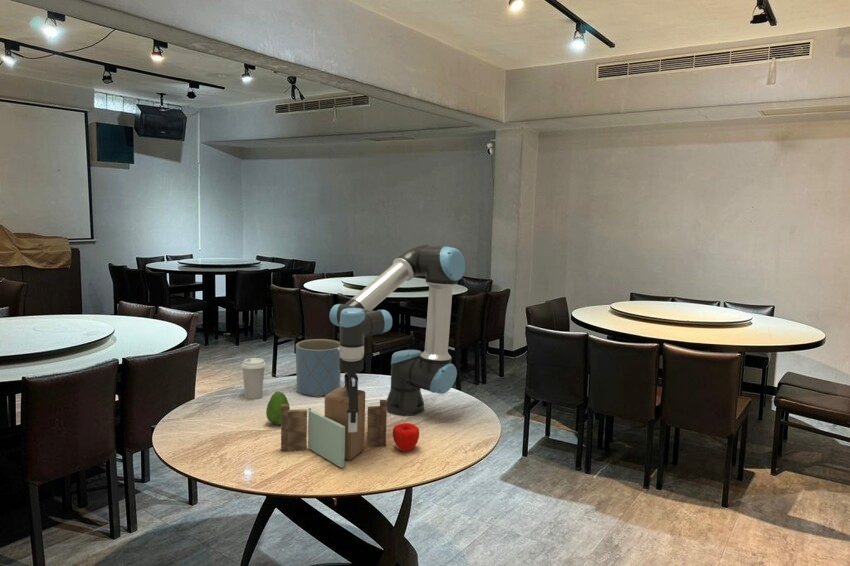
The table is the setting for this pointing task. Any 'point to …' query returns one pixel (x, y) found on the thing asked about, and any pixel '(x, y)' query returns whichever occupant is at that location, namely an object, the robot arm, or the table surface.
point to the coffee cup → (253, 377)
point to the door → (326, 437)
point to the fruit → (276, 407)
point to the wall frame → (297, 427)
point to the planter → (317, 366)
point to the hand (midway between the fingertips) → (350, 423)
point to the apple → (406, 436)
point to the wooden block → (338, 412)
